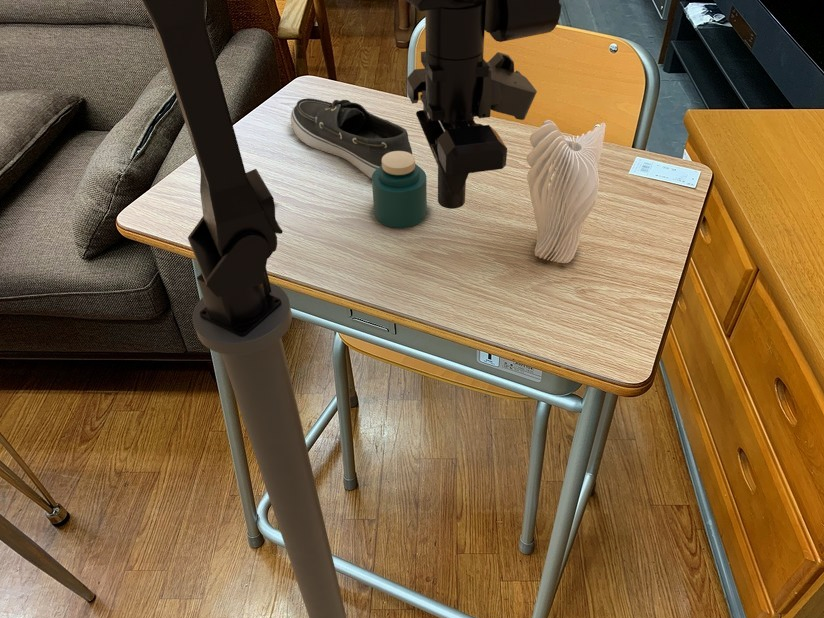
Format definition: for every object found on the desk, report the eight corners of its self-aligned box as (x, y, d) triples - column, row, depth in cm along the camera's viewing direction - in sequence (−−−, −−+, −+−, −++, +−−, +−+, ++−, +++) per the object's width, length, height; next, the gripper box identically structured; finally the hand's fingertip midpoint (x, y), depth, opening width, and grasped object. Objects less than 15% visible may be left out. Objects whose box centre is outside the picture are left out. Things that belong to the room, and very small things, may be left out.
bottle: (408, 234, 85) (406, 180, 80) (364, 217, 88) (359, 163, 82) (436, 207, 89) (436, 154, 84) (393, 192, 92) (390, 140, 86)
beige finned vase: (592, 239, 85) (620, 106, 72) (579, 278, 80) (607, 142, 67) (529, 226, 87) (546, 94, 74) (513, 263, 81) (528, 127, 69)
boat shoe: (323, 111, 108) (318, 68, 103) (434, 171, 96) (434, 125, 91) (279, 130, 104) (271, 85, 99) (389, 195, 91) (386, 147, 86)
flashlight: (457, 214, 76) (459, 150, 70) (429, 204, 77) (428, 140, 71) (473, 198, 78) (476, 135, 72) (445, 188, 79) (446, 126, 74)
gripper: (566, 81, 60) (546, 223, 71) (503, 9, 73) (493, 139, 84) (448, 93, 58) (446, 237, 69) (404, 16, 71) (408, 149, 82)
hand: (451, 186), depth 76 cm, fingers closed on flashlight, 3 cm apart
